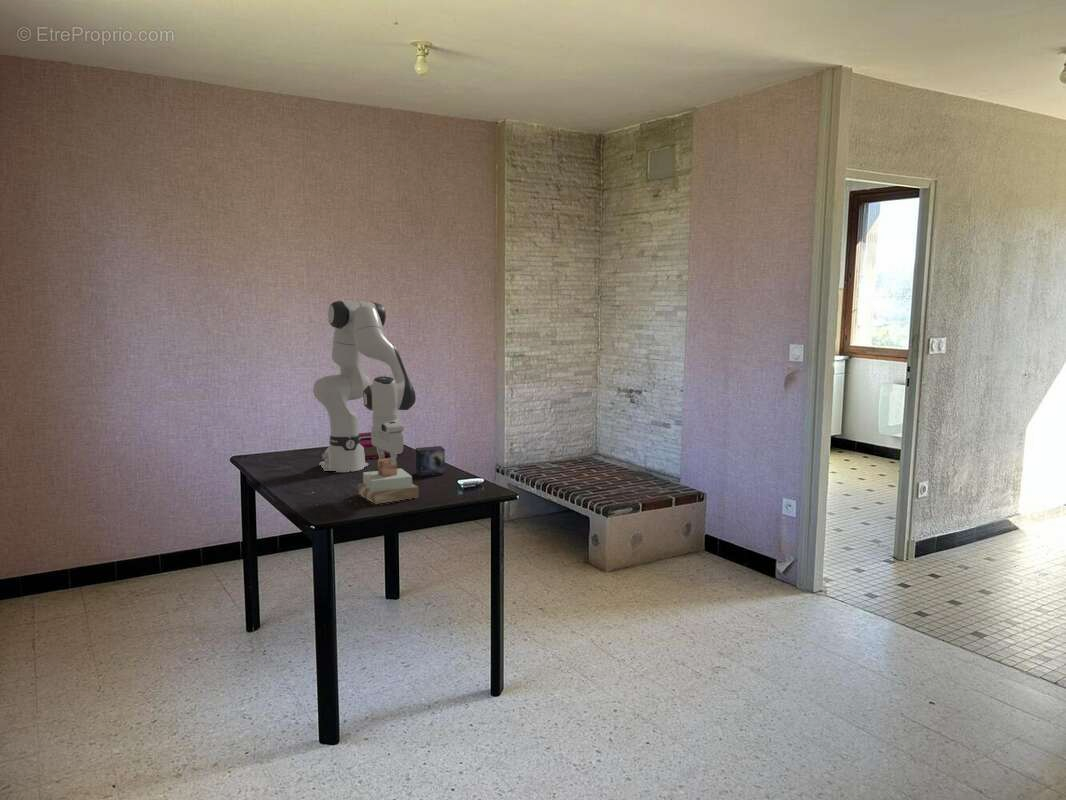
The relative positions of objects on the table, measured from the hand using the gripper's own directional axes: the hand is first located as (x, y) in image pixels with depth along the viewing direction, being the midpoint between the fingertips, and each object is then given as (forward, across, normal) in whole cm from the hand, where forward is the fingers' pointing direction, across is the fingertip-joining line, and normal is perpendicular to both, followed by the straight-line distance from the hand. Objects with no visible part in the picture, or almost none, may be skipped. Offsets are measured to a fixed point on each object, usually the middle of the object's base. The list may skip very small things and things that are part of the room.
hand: (387, 462), depth 269 cm
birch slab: (+13, 0, 0) cm, 13 cm away
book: (+13, -76, +23) cm, 81 cm away
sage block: (+8, 0, 0) cm, 8 cm away
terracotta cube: (+4, 0, 0) cm, 4 cm away
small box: (+13, -21, +27) cm, 37 cm away
